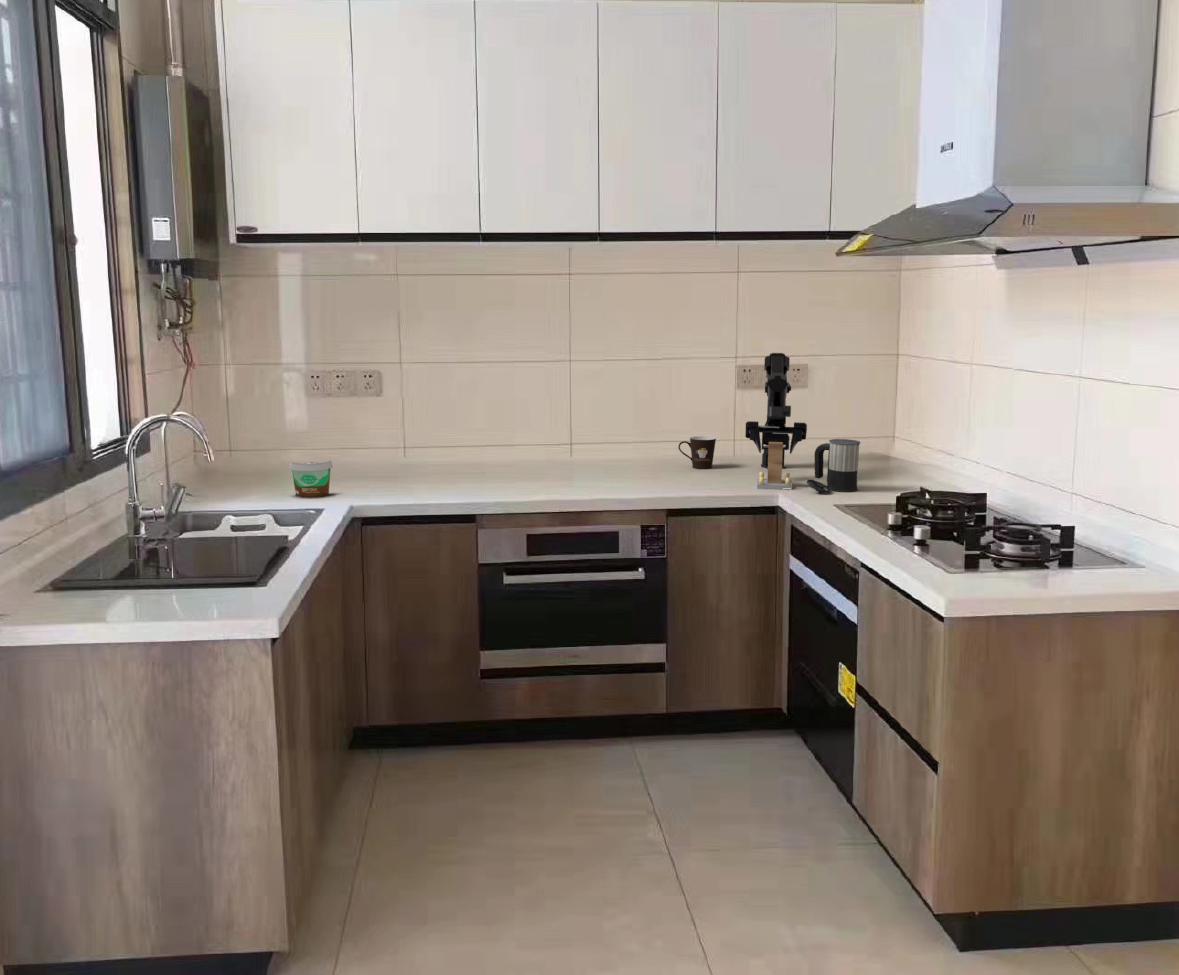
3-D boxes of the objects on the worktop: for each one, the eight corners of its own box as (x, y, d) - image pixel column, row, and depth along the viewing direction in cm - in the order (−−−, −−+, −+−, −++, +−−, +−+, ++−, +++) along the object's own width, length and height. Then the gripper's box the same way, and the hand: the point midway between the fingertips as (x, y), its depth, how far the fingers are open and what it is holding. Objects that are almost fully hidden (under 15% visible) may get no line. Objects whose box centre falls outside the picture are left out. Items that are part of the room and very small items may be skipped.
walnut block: (767, 480, 346) (768, 441, 343) (781, 480, 345) (782, 442, 343) (767, 483, 341) (768, 444, 339) (781, 483, 341) (782, 444, 338)
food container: (291, 499, 320) (289, 464, 318) (290, 495, 326) (288, 461, 324) (335, 497, 323) (334, 462, 321) (334, 493, 329) (332, 459, 327)
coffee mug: (719, 467, 376) (720, 437, 375) (708, 470, 369) (708, 440, 367) (688, 463, 383) (689, 434, 381) (676, 467, 375) (677, 437, 374)
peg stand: (757, 482, 349) (757, 471, 348) (791, 483, 348) (791, 472, 347) (757, 488, 339) (757, 477, 338) (792, 489, 337) (792, 478, 337)
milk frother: (860, 488, 341) (862, 439, 338) (852, 497, 326) (855, 447, 324) (813, 484, 346) (815, 437, 343) (803, 493, 331) (805, 444, 329)
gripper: (746, 395, 348) (744, 436, 340) (807, 396, 345) (807, 438, 337) (746, 417, 357) (744, 457, 349) (806, 418, 354) (805, 459, 346)
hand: (775, 452), depth 345 cm, fingers open, 9 cm apart
